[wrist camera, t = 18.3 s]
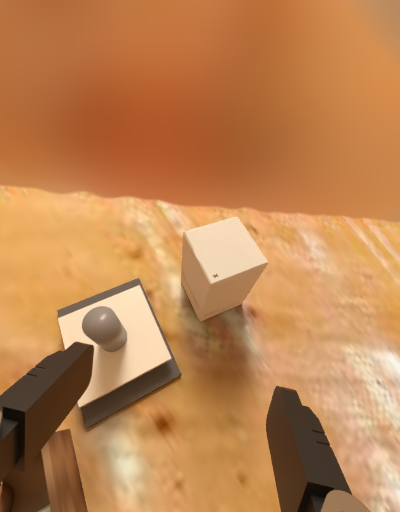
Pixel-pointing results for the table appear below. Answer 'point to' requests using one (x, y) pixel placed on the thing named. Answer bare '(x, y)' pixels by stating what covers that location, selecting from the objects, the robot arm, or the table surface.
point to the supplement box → (219, 266)
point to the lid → (116, 340)
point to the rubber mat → (133, 388)
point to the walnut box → (46, 481)
